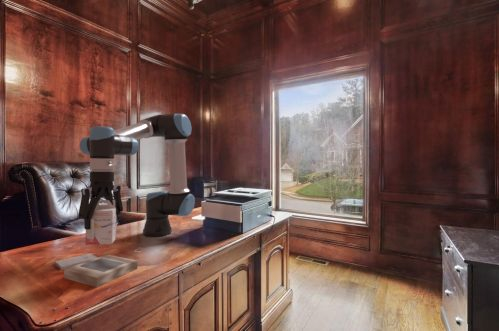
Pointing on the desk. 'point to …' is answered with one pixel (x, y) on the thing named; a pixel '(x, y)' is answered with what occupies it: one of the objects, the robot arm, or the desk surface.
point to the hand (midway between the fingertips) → (102, 235)
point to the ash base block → (100, 270)
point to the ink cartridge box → (103, 223)
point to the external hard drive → (74, 261)
